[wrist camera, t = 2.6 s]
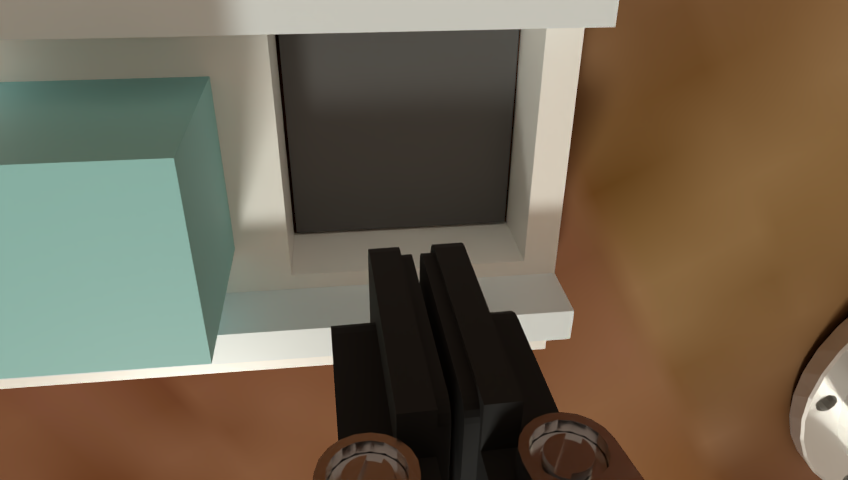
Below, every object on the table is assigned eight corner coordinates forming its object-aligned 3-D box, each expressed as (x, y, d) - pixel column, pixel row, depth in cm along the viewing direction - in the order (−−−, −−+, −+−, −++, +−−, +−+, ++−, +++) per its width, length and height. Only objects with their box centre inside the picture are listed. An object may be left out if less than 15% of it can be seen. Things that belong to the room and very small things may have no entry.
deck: (571, -133, 18) (636, -121, 15) (526, 304, 26) (562, 390, 22) (-680, -138, 15) (-1015, -125, 12) (-336, 361, 22) (-471, 473, 19)
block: (209, 76, 18) (173, 158, 13) (234, 248, 20) (211, 363, 16) (-4, 82, 17) (-113, 169, 13) (49, 258, 20) (-27, 380, 15)
